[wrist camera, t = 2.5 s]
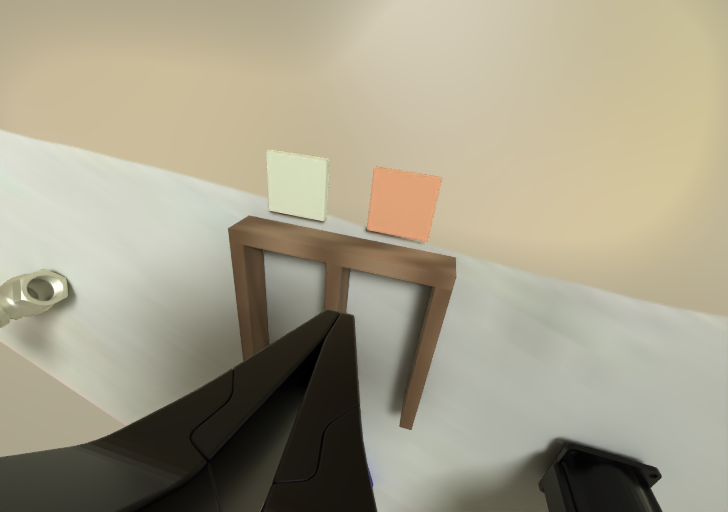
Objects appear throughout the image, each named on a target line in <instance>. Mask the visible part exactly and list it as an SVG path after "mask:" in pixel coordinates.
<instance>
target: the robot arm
mask: <svg viewBox="0 0 728 512" xmlns="http://www.w3.org/2000/svg"><path fill="white" fill-rule="evenodd" d="M661 477H662V476H661V473H660V472H659V470H658V469H657V468H656V467H653V466H649V465H646V464H642V463H639V462H635V461H632V460H628V459H624V458H621V457H617V456H614V455H610V454H607V453H603V452H600V451H596V450H592V449H589V448H585V447H582V446H578V445H575V444H568V445H566V446H565V447H564V448H563V450H562V451H561V453H560V454H559V455H558V457H557V458H556V459H555V461H554V462H553V464H552V465H551V466H550V468H549V469H548V471H547V472H546V473H545V475H544V476H543V478H542V479H541V480H540V482H539V489H540V491H541V492H544V493H545V496H546V501H547V505H548V509H549V512H662V510H661V508H660V506H659V504H658V502H657V500H656V498H655V496H654V494H653V492H652V490H651V487H652V486H653V485H654V484H655V483H656V482H657V481H658V480H660V479H661ZM264 502H265V503H264ZM263 504H264V505H263ZM262 506H263V507H262ZM261 508H262V509H261ZM260 510H261V511H260ZM0 512H377V508H376V503H375V498H374V493H373V489H372V484H371V479H370V474H369V469H368V465H367V459H366V453H365V448H364V442H363V433H362V423H361V409H360V395H359V380H358V365H357V349H356V334H355V319H354V316H353V315H351V314H347V313H341V314H340V312H339V311H335V310H331V309H327V310H325V311H323V312H322V313H320V314H319V315H317V316H315V317H314V318H312V319H311V320H309V321H307V322H306V323H304V324H303V325H301V326H299V327H298V328H296V329H295V330H293V331H291V332H290V333H288V334H287V335H285V336H283V337H282V338H280V339H279V340H277V341H275V342H274V343H272V344H271V345H269V346H267V347H266V348H264V349H263V350H261V351H259V352H258V353H256V354H255V355H253V356H251V357H250V358H248V359H247V360H245V361H243V362H242V363H240V364H239V365H237V366H235V367H234V369H230V370H229V371H227V372H226V373H224V374H222V375H221V376H219V377H217V378H216V379H214V380H212V381H211V382H209V383H207V384H206V385H204V386H202V387H201V388H199V389H197V390H195V391H193V392H191V393H190V394H188V395H186V396H184V397H182V398H180V399H178V400H177V401H175V402H173V403H171V404H169V405H167V406H165V407H163V408H161V409H159V410H157V411H155V412H153V413H151V414H149V415H147V416H145V417H144V418H142V419H140V420H138V421H136V422H134V423H132V424H130V425H128V426H126V427H124V428H122V429H120V430H118V431H116V432H114V433H112V434H110V435H107V436H105V437H102V438H100V439H97V440H94V441H91V442H88V443H85V444H81V445H76V446H71V447H65V448H58V449H52V450H45V451H38V452H32V453H25V454H19V455H12V456H5V457H0Z"/></svg>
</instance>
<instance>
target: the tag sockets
mask: <svg viewBox="0 0 728 512" xmlns="http://www.w3.org/2000/svg"><path fill="white" fill-rule="evenodd" d="M329 162H330V160H329V159H327V158H321V157H314V156H308V155H302V154H296V153H290V152H284V151H278V150H272V149H271V150H268V151H267V175H268V196H269V211H274V212H279V213H284V214H289V215H294V216H300V217H305V218H310V219H315V220H320V221H324V220H325V219H326V218H327V203H328V182H329ZM441 180H442V177H437V176H431V175H425V174H419V173H413V172H407V171H401V170H394V169H388V168H382V167H375V168H374V174H373V183H372V191H371V199H370V208H369V217H368V225H367V230H370V231H375V232H381V233H386V234H391V235H396V236H401V237H406V238H412V239H416V240H421V241H426V242H428V238H429V234H430V230H431V225H432V220H433V216H434V212H435V208H436V203H437V199H438V194H439V190H440V185H441ZM228 233H229V241H230V250H231V258H232V267H233V275H234V284H235V292H236V301H237V309H238V318H239V326H240V335H241V343H242V352H243V360H244V361H245V360H247V359H248V358H250V357H251V356H253V355H255V354H256V353H258V352H259V351H261V350H263V349H264V348H266V347H267V346H269V338H268V322H267V305H266V288H265V272H264V255H263V249H264V250H269V251H274V252H278V253H283V254H287V255H292V256H296V257H301V258H305V259H310V260H314V261H319V262H324V263H327V268H326V287H325V306H324V311H325V310H327V309H331V310H335V311H339V312H340V314H341V313H346V309H347V298H348V288H349V278H350V268H351V269H355V270H360V271H364V272H369V273H373V274H378V275H383V276H387V277H392V278H396V279H401V280H405V281H410V282H414V283H419V284H423V285H428V286H432V290H431V294H430V298H429V301H428V305H427V309H426V313H425V317H424V321H423V325H422V329H421V333H420V337H419V341H418V345H417V349H416V353H415V357H414V361H413V365H412V369H411V373H410V377H409V380H408V384H407V388H406V392H405V396H404V400H403V406H402V413H401V419H400V425H399V427H403V428H406V429H409V430H412V426H413V423H414V419H415V416H416V412H417V409H418V406H419V402H420V399H421V395H422V392H423V389H424V385H425V382H426V378H427V375H428V371H429V368H430V365H431V361H432V358H433V354H434V351H435V348H436V344H437V341H438V337H439V334H440V331H441V327H442V324H443V320H444V317H445V313H446V310H447V307H448V303H449V300H450V296H451V293H452V290H453V286H454V283H455V279H456V258H455V257H450V256H445V255H440V254H435V253H430V252H425V251H420V250H416V249H411V248H406V247H401V246H396V245H391V244H386V243H381V242H376V241H371V240H366V239H361V238H356V237H351V236H346V235H342V234H337V233H332V232H327V231H322V230H317V229H312V228H307V227H302V226H297V225H292V224H287V223H282V222H277V221H273V220H268V219H263V218H258V217H253V216H248V217H246V218H244V219H243V220H241V221H239V222H238V223H236V224H234V225H233V226H231V227H230V228H228Z"/></svg>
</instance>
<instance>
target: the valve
mask: <svg viewBox="0 0 728 512" xmlns="http://www.w3.org/2000/svg"><path fill="white" fill-rule="evenodd" d="M66 297H68V288H67V281H66V278H65V277H63V276H61V275H58V274H56V273H53V272H51V271H48V270H45V269H42V270H40V271H37V272H35V273H33V274H24V275H19V276H16V277H13V278H11V279H9V280H8V281H6V282H5V283H4V284H3V285H2V286H1V287H0V328H1V327H3V326H5V325H7V324H9V322H10V319H14V320H17V319H19V318H22V317H28V316H35V315H38V314H41V313H43V312H45V311H47V310H49V309H50V308H51V307H52V306H53V305H54V304H55V303H57V302H59V301H61V300H62V299H64V298H66Z"/></svg>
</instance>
